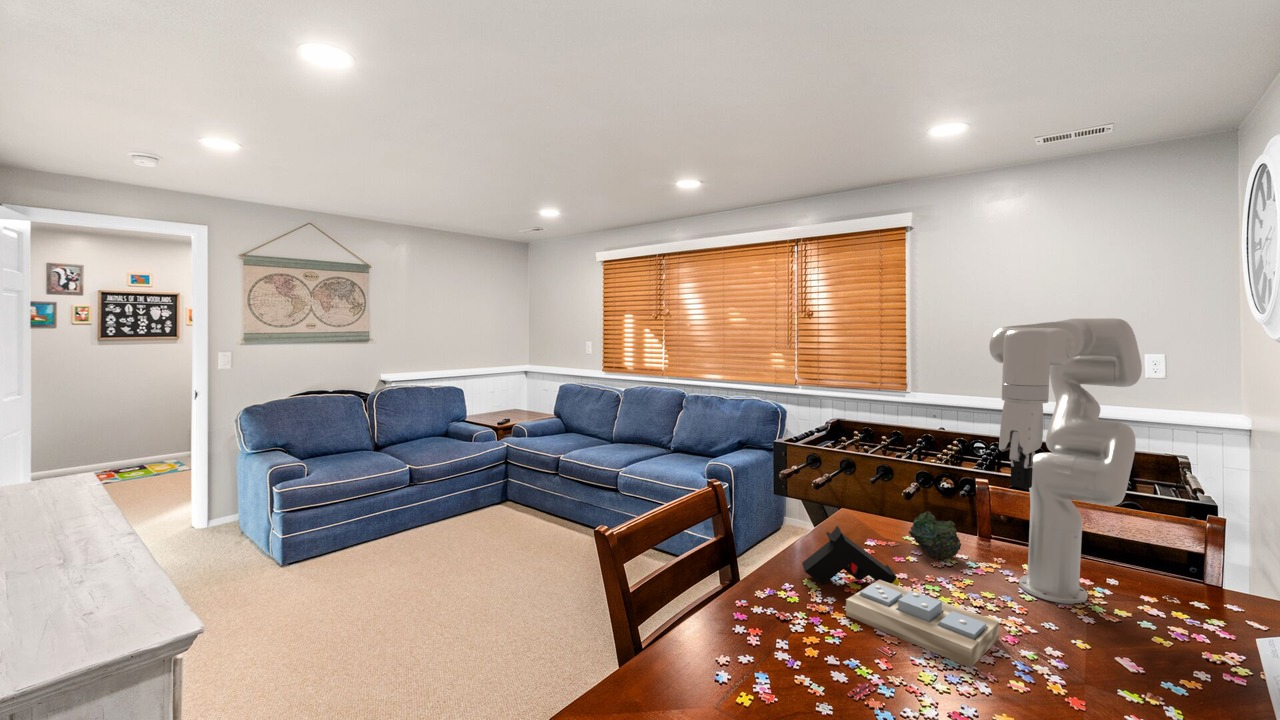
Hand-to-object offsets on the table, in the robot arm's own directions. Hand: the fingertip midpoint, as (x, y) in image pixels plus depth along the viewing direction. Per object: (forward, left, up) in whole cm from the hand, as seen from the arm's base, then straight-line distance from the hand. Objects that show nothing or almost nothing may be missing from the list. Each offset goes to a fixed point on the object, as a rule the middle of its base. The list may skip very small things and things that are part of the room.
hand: (1020, 486), depth 112 cm
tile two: (+13, -13, -26) cm, 32 cm away
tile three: (+13, -21, -27) cm, 37 cm away
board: (+13, -13, -29) cm, 34 cm away
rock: (-27, -28, -29) cm, 49 cm away
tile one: (+13, -5, -27) cm, 31 cm away
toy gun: (+5, -33, -30) cm, 44 cm away
